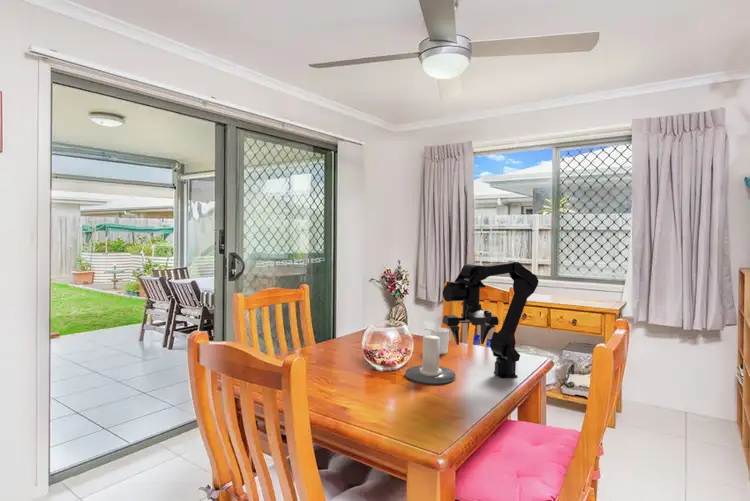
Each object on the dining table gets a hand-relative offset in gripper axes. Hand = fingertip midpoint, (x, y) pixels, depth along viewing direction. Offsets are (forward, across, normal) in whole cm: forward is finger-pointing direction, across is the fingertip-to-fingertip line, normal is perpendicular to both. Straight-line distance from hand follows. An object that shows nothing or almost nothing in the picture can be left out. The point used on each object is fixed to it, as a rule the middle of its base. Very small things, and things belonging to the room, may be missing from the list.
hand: (469, 344), depth 157 cm
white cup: (+13, +2, +37) cm, 39 cm away
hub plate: (+13, -12, +7) cm, 19 cm away
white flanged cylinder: (+12, -12, +7) cm, 18 cm away
